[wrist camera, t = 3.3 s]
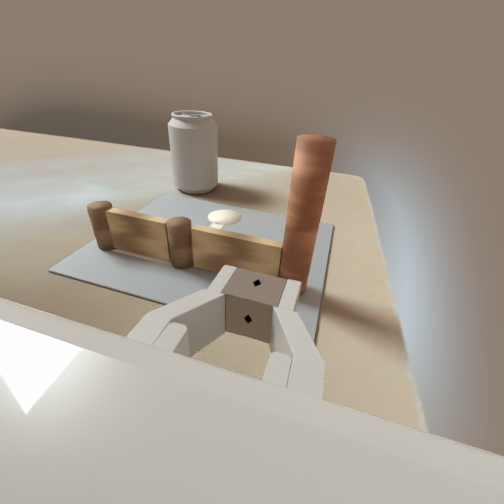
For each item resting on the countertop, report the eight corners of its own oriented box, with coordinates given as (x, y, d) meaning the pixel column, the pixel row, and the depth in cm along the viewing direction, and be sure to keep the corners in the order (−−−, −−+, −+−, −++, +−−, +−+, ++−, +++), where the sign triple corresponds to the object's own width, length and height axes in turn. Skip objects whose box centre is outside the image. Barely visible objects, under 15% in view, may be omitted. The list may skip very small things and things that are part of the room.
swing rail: (189, 271, 29) (177, 125, 22) (202, 257, 32) (194, 120, 24) (303, 299, 27) (335, 145, 19) (307, 281, 29) (337, 137, 21)
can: (226, 188, 50) (227, 113, 44) (193, 199, 46) (187, 118, 39) (199, 177, 54) (195, 107, 48) (165, 186, 50) (156, 110, 43)
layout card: (48, 271, 29) (47, 269, 29) (165, 194, 47) (165, 193, 47) (312, 346, 23) (313, 344, 23) (333, 225, 41) (333, 224, 40)
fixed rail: (93, 248, 32) (81, 207, 30) (108, 238, 34) (98, 199, 32) (187, 271, 30) (183, 229, 27) (198, 259, 32) (195, 219, 29)
